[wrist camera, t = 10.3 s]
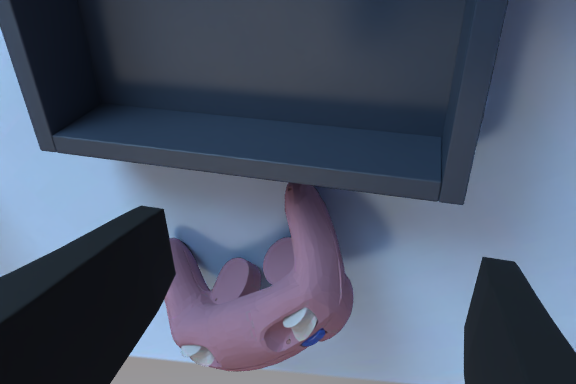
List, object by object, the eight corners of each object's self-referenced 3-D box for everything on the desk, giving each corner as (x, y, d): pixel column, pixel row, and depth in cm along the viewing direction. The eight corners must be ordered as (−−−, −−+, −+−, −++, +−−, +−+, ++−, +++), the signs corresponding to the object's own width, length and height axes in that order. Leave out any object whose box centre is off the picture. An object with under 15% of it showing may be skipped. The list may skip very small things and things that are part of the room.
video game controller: (214, 267, 28) (204, 392, 24) (152, 237, 25) (129, 373, 21) (358, 208, 23) (376, 352, 19) (302, 162, 20) (310, 320, 16)
